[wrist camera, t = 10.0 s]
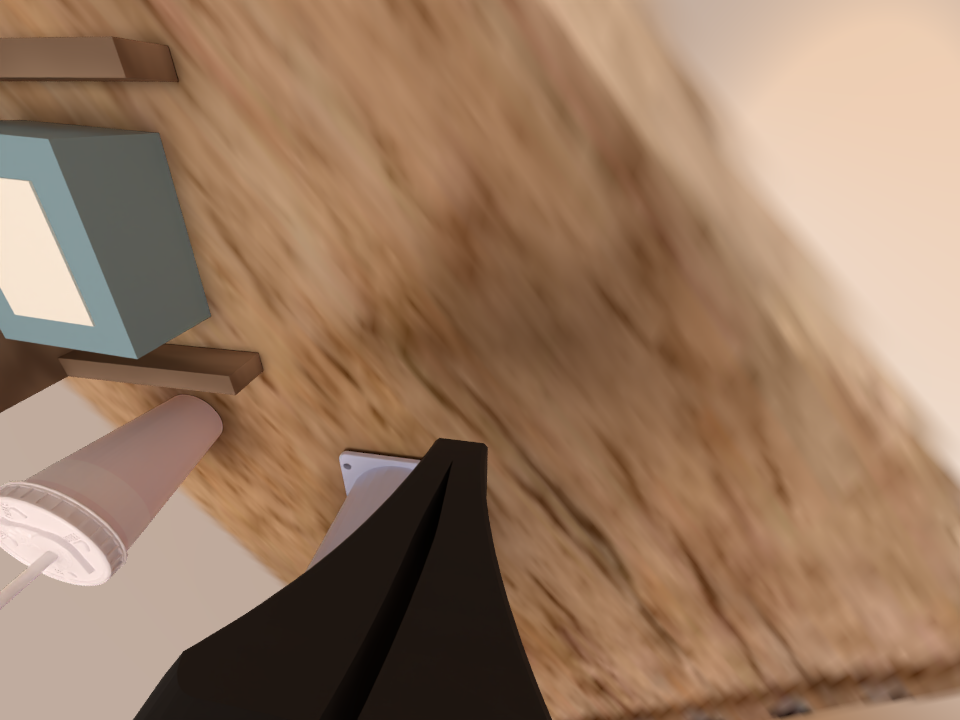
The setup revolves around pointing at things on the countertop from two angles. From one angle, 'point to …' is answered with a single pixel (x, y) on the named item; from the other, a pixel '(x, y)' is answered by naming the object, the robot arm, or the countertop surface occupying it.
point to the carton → (92, 241)
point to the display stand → (33, 367)
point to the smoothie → (102, 495)
